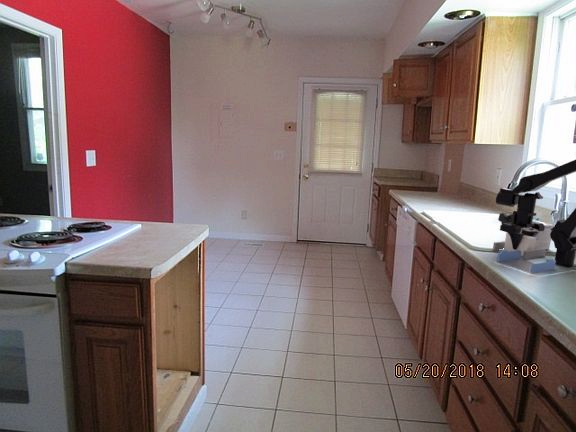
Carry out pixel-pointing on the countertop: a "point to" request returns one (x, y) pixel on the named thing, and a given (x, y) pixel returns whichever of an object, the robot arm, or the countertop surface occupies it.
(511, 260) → the blue bezel bay
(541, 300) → the countertop surface
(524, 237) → the pale pink flat box
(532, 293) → the countertop surface
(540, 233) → the light bulb box
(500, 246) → the grey flat block
